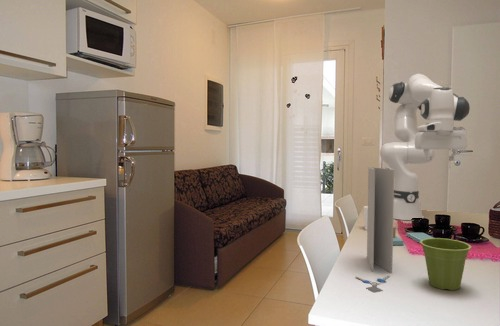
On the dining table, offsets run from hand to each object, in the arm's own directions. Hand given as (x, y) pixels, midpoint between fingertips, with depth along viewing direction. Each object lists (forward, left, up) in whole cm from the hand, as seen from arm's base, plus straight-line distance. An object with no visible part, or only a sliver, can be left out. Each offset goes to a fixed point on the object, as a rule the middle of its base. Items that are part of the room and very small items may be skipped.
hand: (440, 160), depth 151 cm
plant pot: (+55, -28, -31) cm, 69 cm away
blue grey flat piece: (+52, -47, -32) cm, 77 cm away
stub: (+9, -25, -31) cm, 40 cm away
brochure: (+38, -39, -31) cm, 63 cm away
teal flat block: (+9, -11, -31) cm, 34 cm away
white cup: (-10, -24, -31) cm, 41 cm away
